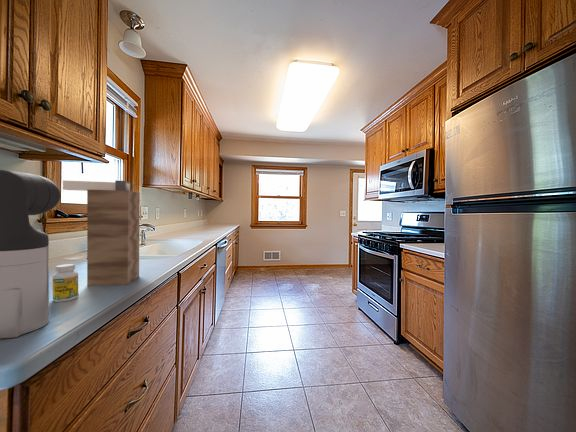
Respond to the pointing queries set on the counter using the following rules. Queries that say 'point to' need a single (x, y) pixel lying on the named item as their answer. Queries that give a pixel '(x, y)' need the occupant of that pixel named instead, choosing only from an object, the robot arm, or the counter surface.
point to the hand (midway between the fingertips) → (35, 199)
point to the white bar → (97, 185)
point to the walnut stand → (112, 237)
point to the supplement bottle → (65, 283)
